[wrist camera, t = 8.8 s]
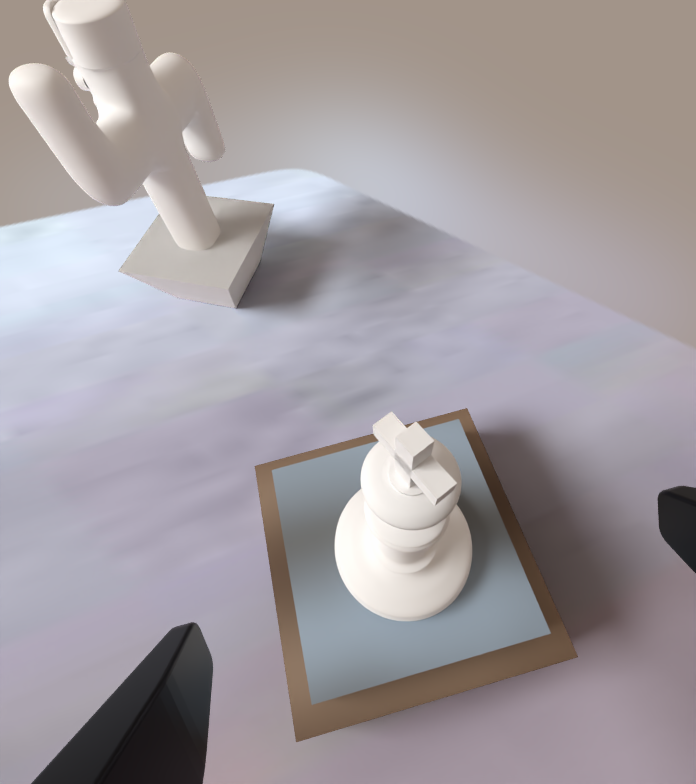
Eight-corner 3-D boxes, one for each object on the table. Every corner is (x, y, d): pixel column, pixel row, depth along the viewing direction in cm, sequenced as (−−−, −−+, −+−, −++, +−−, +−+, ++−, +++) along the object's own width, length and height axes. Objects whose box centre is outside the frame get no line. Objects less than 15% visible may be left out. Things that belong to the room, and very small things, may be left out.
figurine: (291, 238, 30) (216, -55, 17) (240, 343, 26) (90, 63, 13) (202, 226, 32) (71, -51, 19) (140, 324, 28) (-83, 55, 15)
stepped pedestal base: (549, 652, 17) (596, 660, 13) (311, 724, 17) (286, 753, 13) (457, 434, 22) (472, 392, 18) (271, 485, 22) (244, 454, 18)
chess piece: (409, 454, 17) (427, 275, 8) (501, 558, 15) (655, 463, 6) (308, 531, 16) (209, 418, 7) (392, 655, 14) (392, 706, 5)
